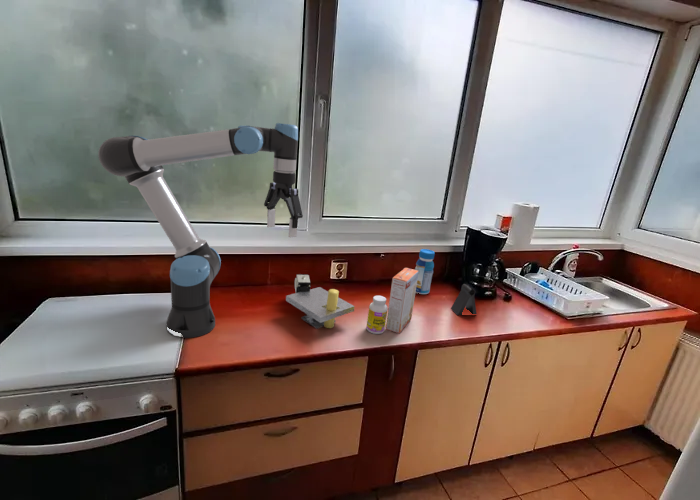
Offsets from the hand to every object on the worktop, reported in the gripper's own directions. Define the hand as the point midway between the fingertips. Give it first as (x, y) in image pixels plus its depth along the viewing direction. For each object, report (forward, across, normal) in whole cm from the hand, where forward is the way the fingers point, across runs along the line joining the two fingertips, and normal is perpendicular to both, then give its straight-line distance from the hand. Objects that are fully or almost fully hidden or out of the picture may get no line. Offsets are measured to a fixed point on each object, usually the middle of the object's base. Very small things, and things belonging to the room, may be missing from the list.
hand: (281, 231), depth 135 cm
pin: (+31, -20, -9) cm, 38 cm away
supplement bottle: (+32, -31, -22) cm, 50 cm away
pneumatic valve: (+32, +1, -12) cm, 34 cm away
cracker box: (+32, -33, -33) cm, 56 cm away
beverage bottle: (+32, -18, -68) cm, 77 cm away
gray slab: (+32, -14, -9) cm, 36 cm away
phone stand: (+32, -42, -66) cm, 84 cm away
